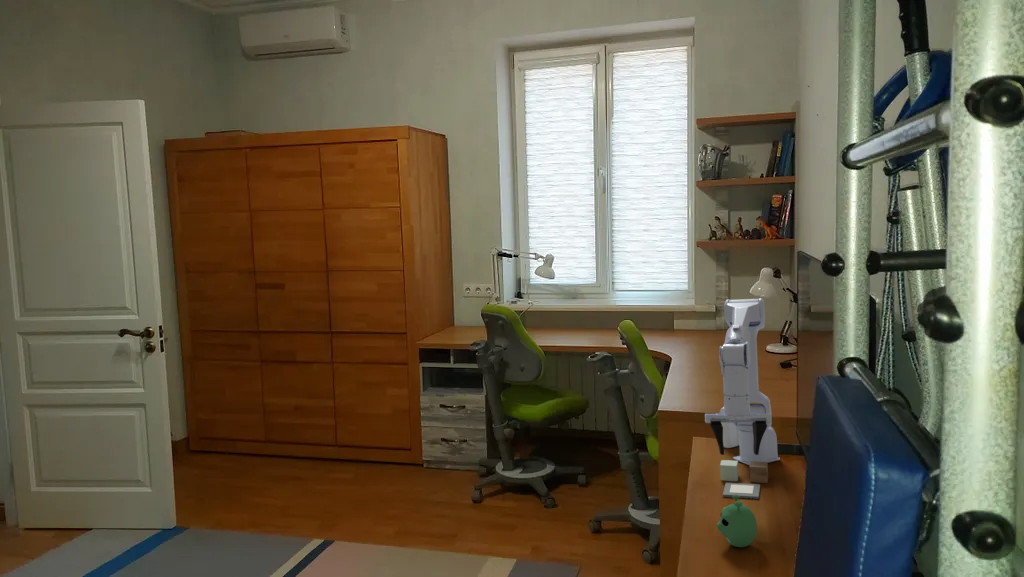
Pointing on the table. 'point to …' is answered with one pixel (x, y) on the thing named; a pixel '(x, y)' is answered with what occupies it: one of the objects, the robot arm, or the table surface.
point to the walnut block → (758, 472)
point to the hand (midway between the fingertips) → (739, 454)
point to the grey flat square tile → (742, 490)
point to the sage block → (729, 470)
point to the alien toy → (738, 524)
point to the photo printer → (730, 434)
